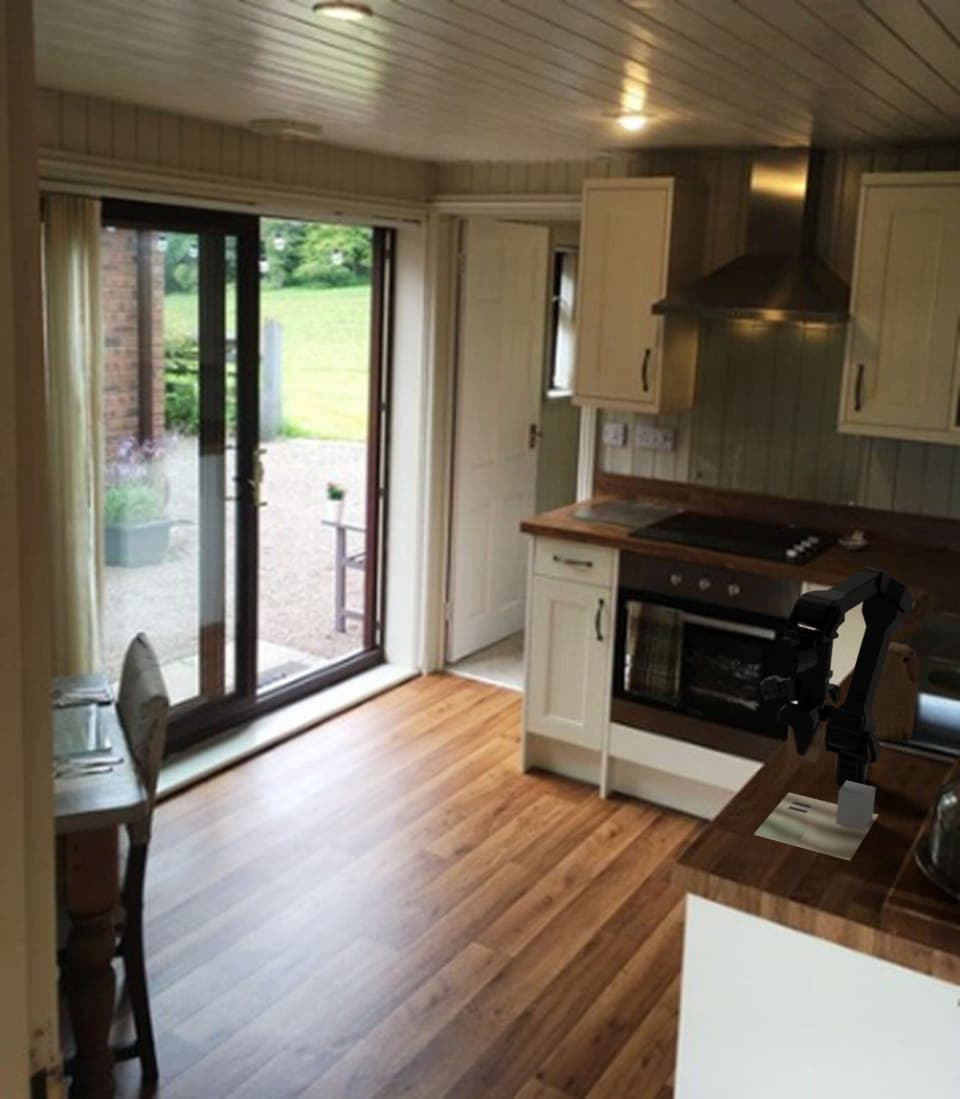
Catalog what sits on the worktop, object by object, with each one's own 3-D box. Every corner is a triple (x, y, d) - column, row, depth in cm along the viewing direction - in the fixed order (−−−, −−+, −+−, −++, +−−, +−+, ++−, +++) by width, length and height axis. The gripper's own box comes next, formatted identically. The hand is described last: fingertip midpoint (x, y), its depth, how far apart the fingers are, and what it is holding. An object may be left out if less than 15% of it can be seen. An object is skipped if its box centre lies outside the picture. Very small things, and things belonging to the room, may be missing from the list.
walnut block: (794, 747, 204) (797, 715, 203) (822, 753, 201) (826, 721, 200) (786, 756, 200) (789, 724, 198) (815, 763, 197) (818, 730, 196)
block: (853, 734, 240) (863, 644, 236) (864, 724, 246) (874, 636, 241) (905, 747, 234) (916, 654, 229) (916, 736, 240) (927, 646, 235)
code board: (788, 797, 209) (788, 792, 209) (877, 820, 201) (878, 814, 201) (753, 839, 192) (753, 834, 192) (849, 866, 184) (849, 860, 184)
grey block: (843, 811, 201) (846, 780, 200) (872, 819, 199) (875, 787, 197) (835, 822, 197) (839, 790, 196) (865, 830, 195) (868, 797, 193)
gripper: (783, 644, 209) (776, 723, 212) (750, 671, 193) (743, 756, 197) (845, 655, 203) (836, 737, 207) (816, 684, 188) (807, 772, 191)
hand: (805, 749), depth 200 cm, fingers closed on walnut block, 5 cm apart
